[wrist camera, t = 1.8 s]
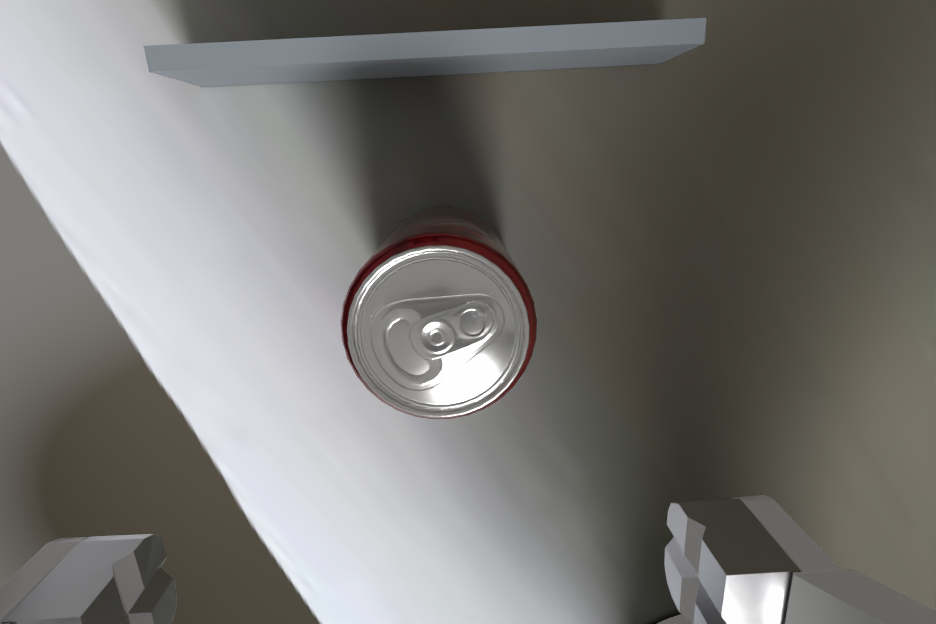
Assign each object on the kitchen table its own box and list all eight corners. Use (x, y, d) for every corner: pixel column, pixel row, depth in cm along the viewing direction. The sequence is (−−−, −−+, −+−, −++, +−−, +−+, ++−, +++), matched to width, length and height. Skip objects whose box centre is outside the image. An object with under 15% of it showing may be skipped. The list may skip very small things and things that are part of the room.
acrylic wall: (661, 42, 27) (706, 17, 22) (660, 63, 27) (704, 43, 22) (199, 66, 27) (143, 45, 22) (203, 87, 27) (149, 71, 22)
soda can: (406, 342, 31) (378, 449, 20) (363, 227, 29) (305, 271, 18) (521, 307, 31) (561, 395, 19) (486, 188, 29) (508, 207, 17)
